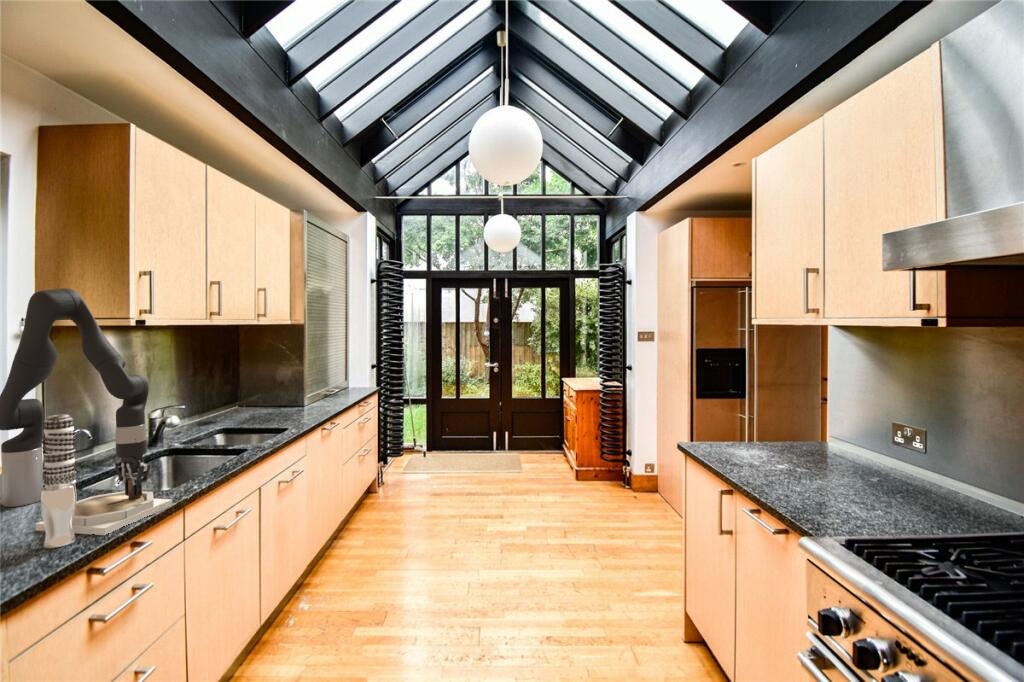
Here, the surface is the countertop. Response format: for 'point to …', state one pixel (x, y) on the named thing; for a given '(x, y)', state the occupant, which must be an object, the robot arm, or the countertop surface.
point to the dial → (109, 503)
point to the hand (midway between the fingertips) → (133, 495)
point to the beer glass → (58, 514)
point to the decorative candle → (59, 450)
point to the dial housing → (114, 515)
